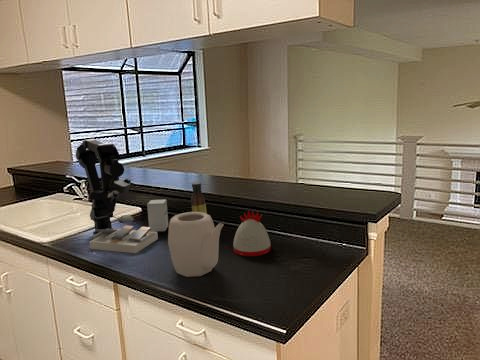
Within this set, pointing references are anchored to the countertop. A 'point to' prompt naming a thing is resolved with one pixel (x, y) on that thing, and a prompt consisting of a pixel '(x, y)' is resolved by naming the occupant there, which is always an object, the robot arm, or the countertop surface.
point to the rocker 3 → (140, 233)
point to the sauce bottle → (198, 199)
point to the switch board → (121, 242)
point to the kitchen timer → (251, 237)
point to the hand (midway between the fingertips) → (112, 211)
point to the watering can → (193, 243)
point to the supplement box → (157, 215)
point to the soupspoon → (126, 218)
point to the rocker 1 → (106, 231)
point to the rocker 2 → (123, 232)
